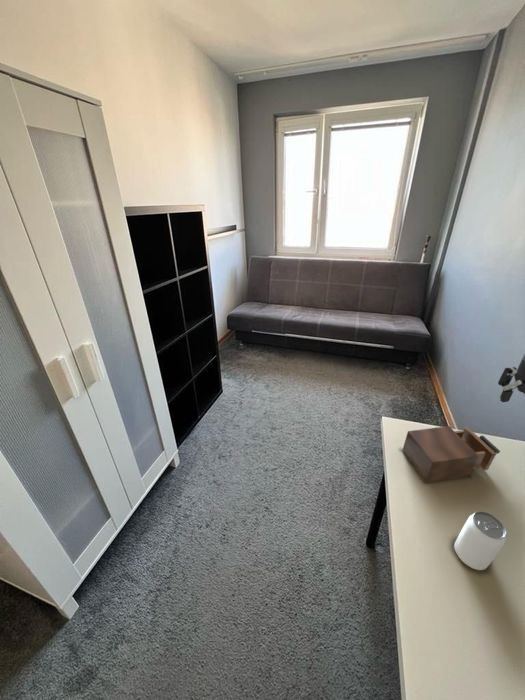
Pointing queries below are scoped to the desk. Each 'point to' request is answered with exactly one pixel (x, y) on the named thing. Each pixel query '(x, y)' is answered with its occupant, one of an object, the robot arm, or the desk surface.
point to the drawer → (479, 447)
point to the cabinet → (439, 454)
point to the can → (480, 540)
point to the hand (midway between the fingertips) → (517, 410)
